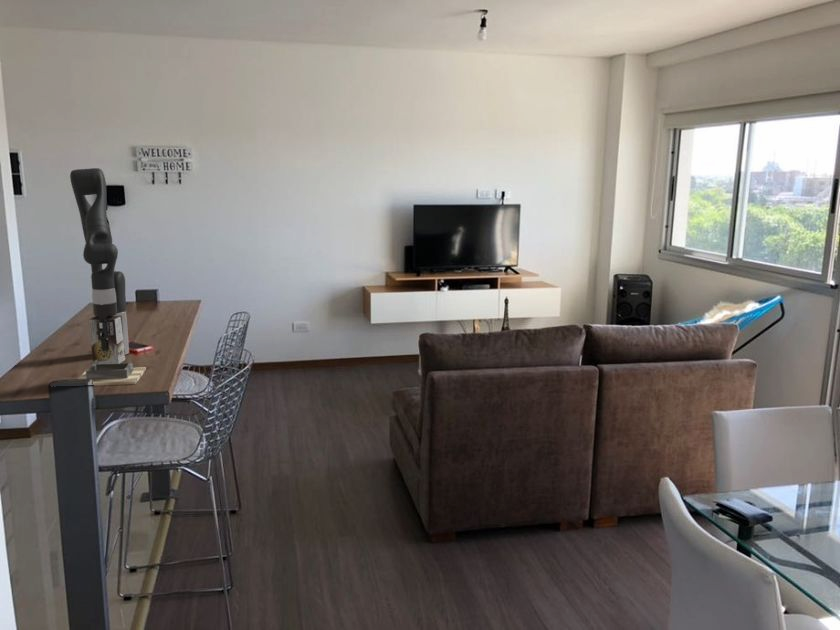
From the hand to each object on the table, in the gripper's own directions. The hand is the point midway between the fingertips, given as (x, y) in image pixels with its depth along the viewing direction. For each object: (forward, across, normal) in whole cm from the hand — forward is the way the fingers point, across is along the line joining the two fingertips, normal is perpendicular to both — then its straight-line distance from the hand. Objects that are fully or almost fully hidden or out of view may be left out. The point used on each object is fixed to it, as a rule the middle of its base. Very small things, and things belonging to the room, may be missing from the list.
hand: (108, 347), depth 234 cm
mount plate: (+11, 0, 0) cm, 11 cm away
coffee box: (+5, 0, 0) cm, 5 cm away
